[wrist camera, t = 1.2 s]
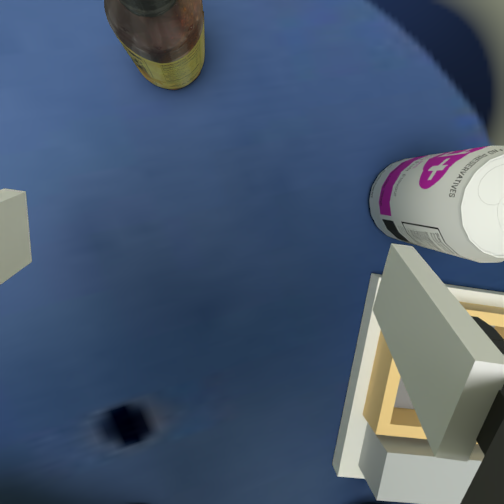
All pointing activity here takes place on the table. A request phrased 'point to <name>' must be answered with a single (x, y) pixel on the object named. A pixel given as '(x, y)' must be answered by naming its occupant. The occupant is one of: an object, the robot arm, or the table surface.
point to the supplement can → (445, 202)
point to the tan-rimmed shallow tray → (400, 417)
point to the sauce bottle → (161, 38)
